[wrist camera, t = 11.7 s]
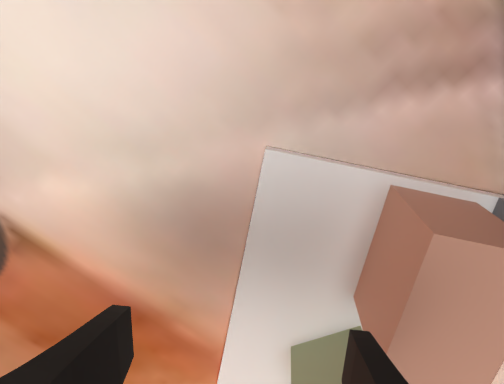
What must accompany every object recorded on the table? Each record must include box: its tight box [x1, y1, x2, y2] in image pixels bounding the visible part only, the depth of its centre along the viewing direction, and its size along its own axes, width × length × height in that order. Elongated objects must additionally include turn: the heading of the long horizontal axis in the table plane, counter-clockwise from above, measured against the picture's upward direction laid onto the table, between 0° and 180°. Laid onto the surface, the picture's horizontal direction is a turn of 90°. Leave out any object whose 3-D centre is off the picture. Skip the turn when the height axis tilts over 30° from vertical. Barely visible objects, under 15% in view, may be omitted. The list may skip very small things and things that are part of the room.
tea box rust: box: [353, 185, 504, 384], centre depth 17 cm, size 5×7×6 cm
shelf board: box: [217, 146, 504, 384], centre depth 22 cm, size 13×22×2 cm, turn 169°
